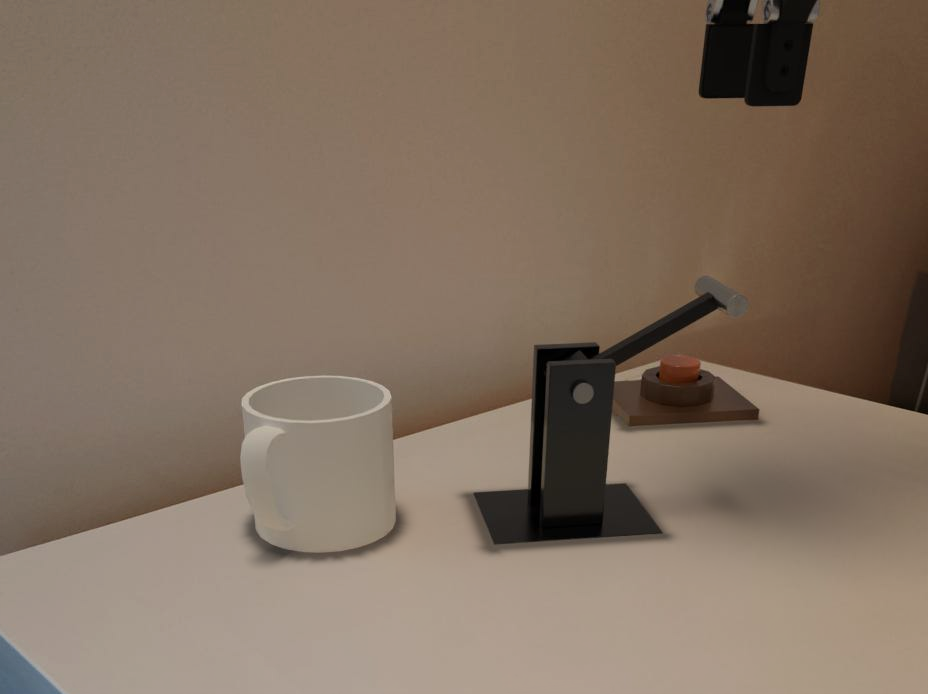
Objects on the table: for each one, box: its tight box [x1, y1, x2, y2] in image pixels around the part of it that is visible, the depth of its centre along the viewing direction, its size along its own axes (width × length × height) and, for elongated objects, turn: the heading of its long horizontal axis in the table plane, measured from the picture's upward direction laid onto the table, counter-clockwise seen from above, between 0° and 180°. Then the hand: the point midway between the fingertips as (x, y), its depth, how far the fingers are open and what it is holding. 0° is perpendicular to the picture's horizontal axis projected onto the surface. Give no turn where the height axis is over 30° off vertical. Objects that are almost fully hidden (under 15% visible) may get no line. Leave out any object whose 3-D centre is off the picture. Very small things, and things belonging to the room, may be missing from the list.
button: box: [659, 355, 702, 383], centre depth 91 cm, size 4×4×2 cm
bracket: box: [472, 341, 664, 546], centre depth 70 cm, size 12×9×13 cm
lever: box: [544, 275, 749, 375], centre depth 67 cm, size 13×6×2 cm, turn 98°
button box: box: [612, 365, 760, 427], centre depth 93 cm, size 12×10×4 cm
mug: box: [239, 375, 397, 554], centre depth 69 cm, size 13×10×10 cm
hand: (746, 98), depth 60 cm, fingers open, 6 cm apart
